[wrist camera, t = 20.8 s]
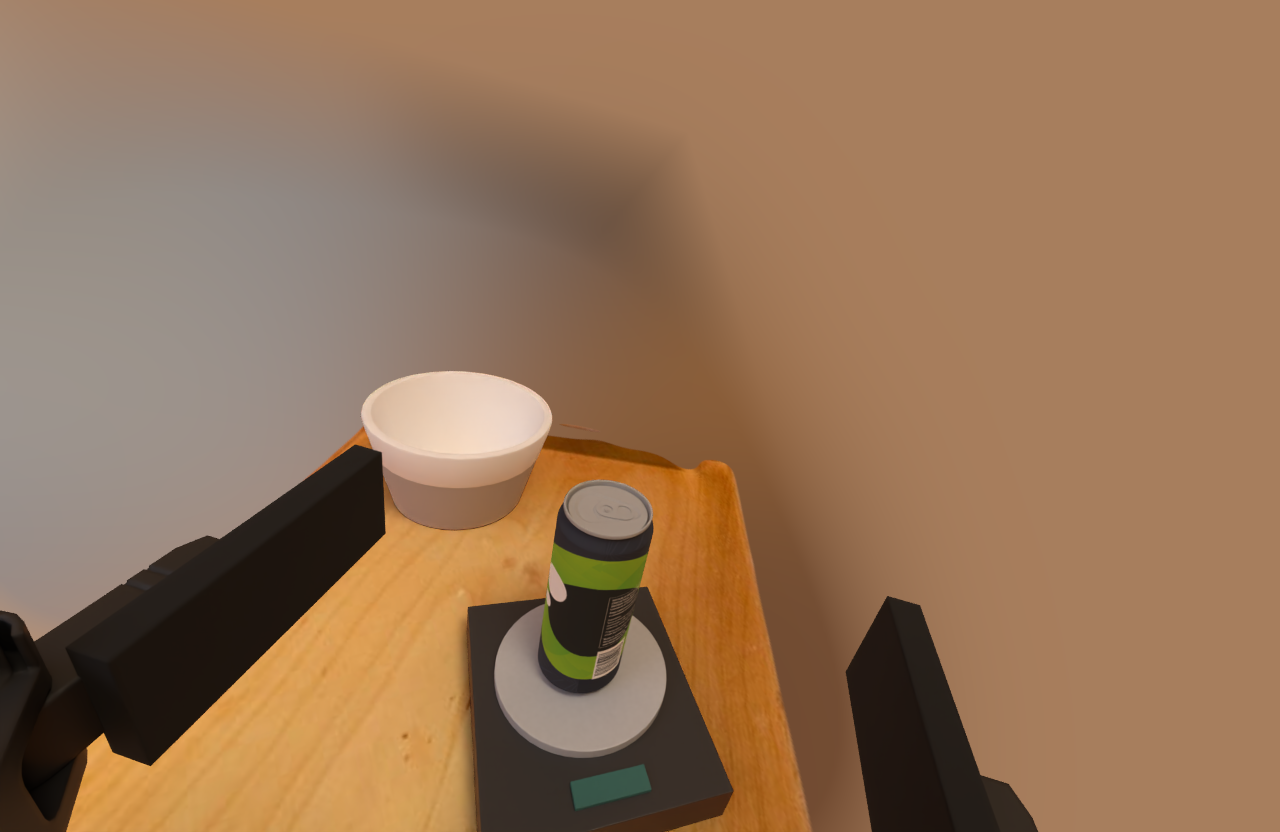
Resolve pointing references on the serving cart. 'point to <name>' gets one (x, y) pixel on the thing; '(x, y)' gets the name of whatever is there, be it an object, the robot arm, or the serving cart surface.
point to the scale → (586, 734)
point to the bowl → (456, 445)
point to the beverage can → (593, 583)
